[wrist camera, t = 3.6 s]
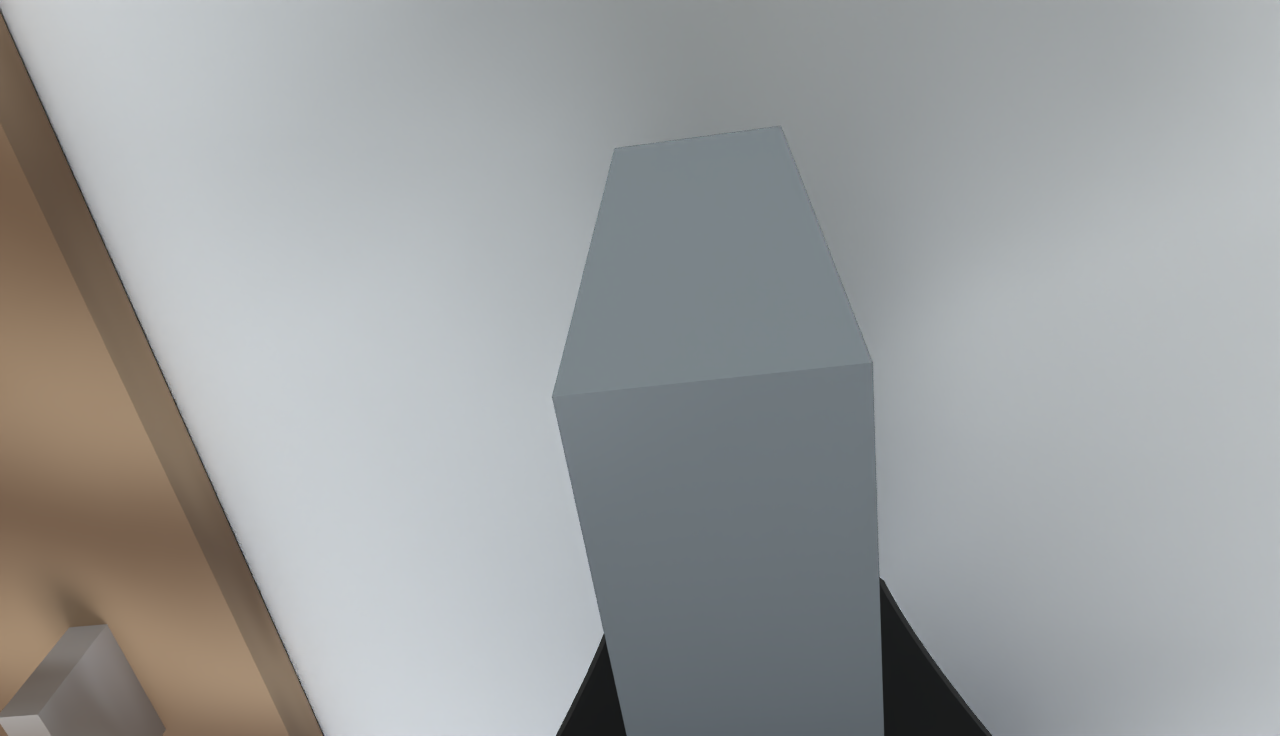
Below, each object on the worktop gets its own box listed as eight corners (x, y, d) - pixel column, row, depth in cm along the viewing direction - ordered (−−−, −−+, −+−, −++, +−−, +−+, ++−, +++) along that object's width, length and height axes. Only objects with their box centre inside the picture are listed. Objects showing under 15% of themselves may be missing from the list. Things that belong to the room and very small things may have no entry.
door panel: (830, 792, 16) (898, 1226, 11) (718, 799, 17) (735, 1228, 11) (780, 125, 11) (872, 363, 6) (615, 147, 11) (553, 396, 6)
